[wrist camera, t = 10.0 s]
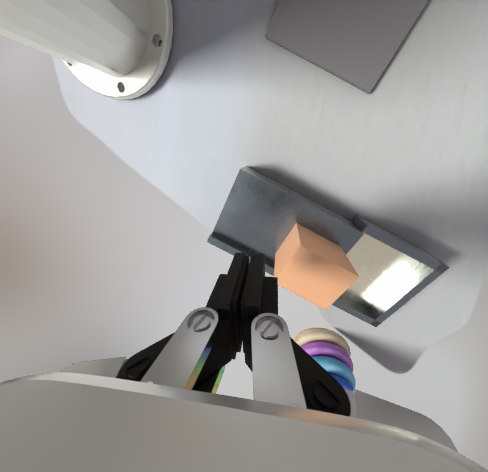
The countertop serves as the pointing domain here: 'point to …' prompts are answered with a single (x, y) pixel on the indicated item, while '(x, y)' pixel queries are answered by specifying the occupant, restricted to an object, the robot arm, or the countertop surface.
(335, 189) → the countertop surface
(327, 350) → the stacking toy
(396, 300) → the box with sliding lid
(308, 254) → the tan cardboard box
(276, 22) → the mat
